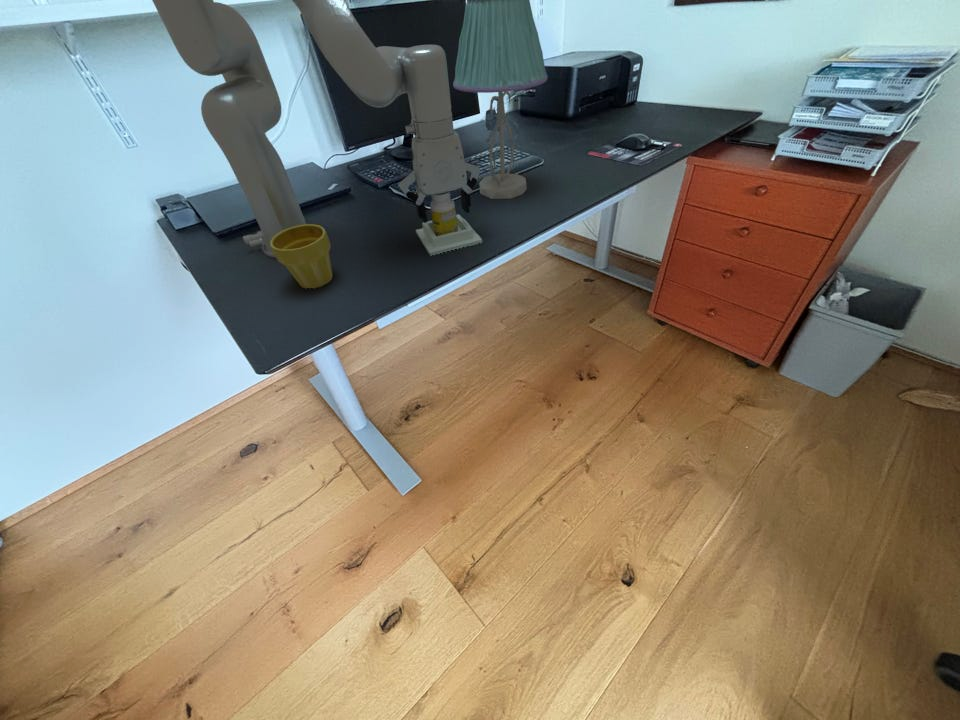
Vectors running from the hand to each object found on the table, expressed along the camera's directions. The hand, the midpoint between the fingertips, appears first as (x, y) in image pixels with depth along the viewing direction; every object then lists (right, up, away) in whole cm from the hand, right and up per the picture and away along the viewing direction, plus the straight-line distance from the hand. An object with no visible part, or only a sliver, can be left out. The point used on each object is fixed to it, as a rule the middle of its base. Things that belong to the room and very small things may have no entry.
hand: (445, 215), depth 88 cm
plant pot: (-26, -15, -5) cm, 31 cm away
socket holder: (0, -4, +4) cm, 5 cm away
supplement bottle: (0, -3, +3) cm, 5 cm away
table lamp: (+14, +15, +22) cm, 30 cm away
